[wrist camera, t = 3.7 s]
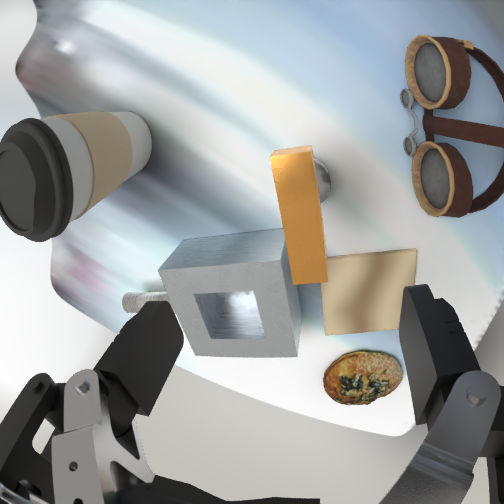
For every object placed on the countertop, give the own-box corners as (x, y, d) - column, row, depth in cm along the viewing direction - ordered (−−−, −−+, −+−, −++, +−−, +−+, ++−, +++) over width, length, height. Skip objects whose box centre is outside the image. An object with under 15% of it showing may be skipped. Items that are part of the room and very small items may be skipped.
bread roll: (328, 400, 40) (327, 425, 35) (317, 346, 36) (316, 372, 32) (399, 387, 37) (404, 412, 32) (400, 330, 33) (409, 355, 29)
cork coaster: (415, 248, 26) (416, 251, 25) (407, 324, 30) (408, 327, 30) (318, 257, 29) (317, 260, 28) (325, 331, 33) (325, 335, 32)
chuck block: (287, 227, 28) (280, 260, 23) (301, 317, 33) (297, 357, 27) (126, 247, 33) (97, 274, 28) (157, 319, 38) (138, 350, 33)
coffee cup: (84, 164, 29) (-20, 217, 16) (106, 89, 24) (-17, 110, 11) (145, 199, 29) (45, 276, 16) (176, 120, 25) (55, 155, 12)
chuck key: (322, 130, 23) (328, 149, 14) (334, 217, 26) (342, 280, 18) (276, 137, 24) (252, 159, 15) (291, 222, 27) (279, 285, 19)
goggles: (387, 36, 17) (460, 11, 8) (488, 58, 17) (560, 61, 8) (399, 205, 24) (464, 256, 15) (491, 195, 24) (554, 233, 15)
